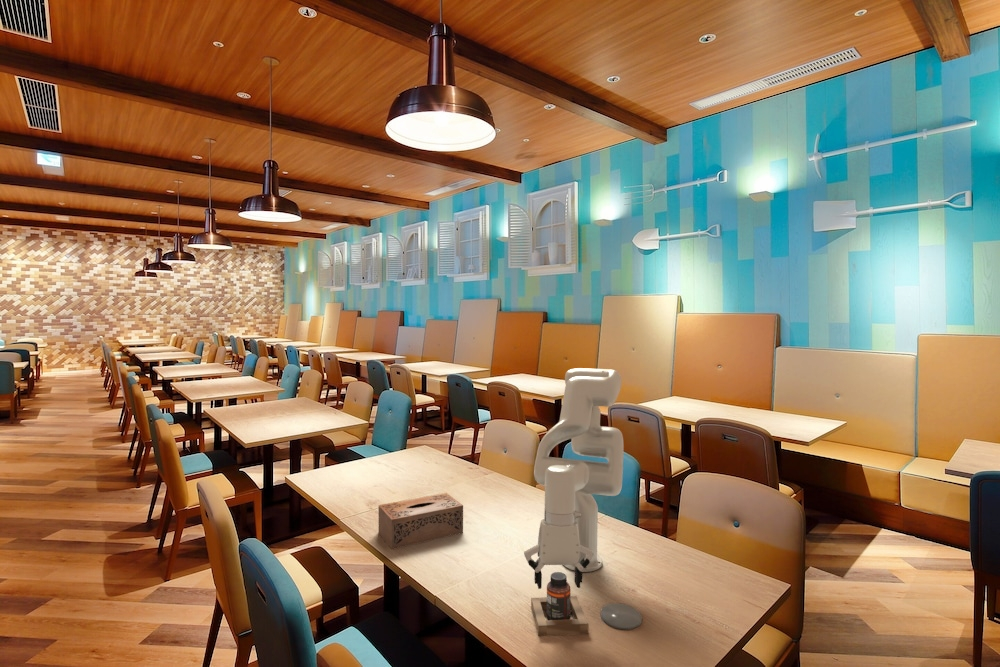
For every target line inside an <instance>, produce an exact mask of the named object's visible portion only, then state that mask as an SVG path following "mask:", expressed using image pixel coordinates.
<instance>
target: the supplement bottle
mask: <svg viewBox="0 0 1000 667" xmlns="http://www.w3.org/2000/svg"><path fill="white" fill-rule="evenodd" d="M570 596H571V585H570V583H568V580H567V574H565V573H564V572H561V571H555V572H552V573H551V574H550V580H549V582H548V583H547V584H546V597H547V611H546V620H567V619H571V615H572V612H571V610H570V609H571V607H570V605H571V603H570Z"/></svg>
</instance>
